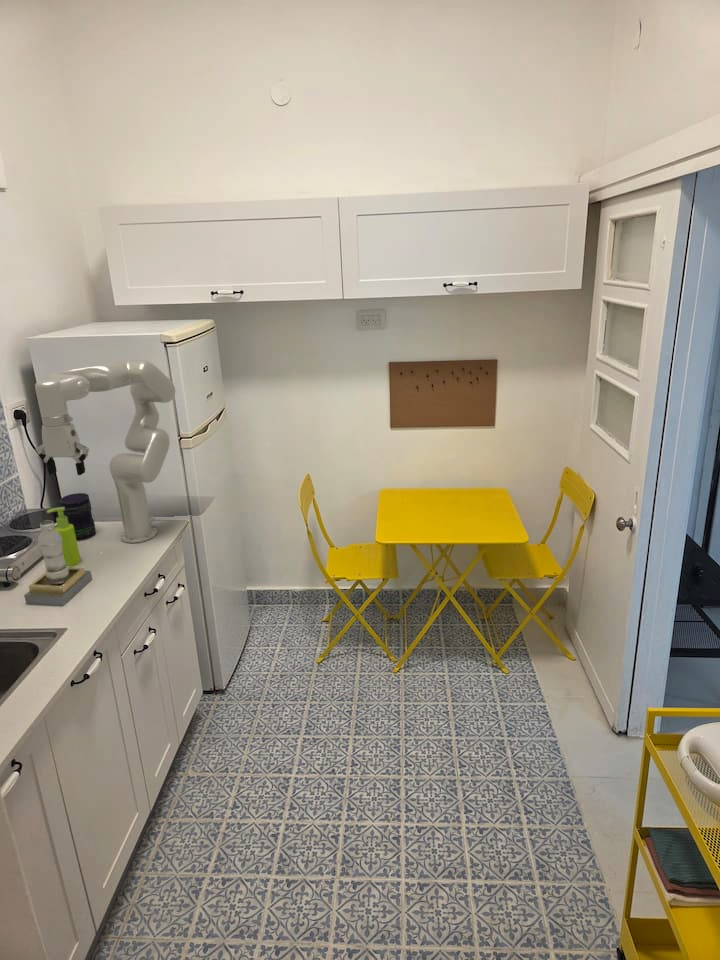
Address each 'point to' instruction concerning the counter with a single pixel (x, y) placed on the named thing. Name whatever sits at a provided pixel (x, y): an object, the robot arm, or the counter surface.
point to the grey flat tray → (57, 588)
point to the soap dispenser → (67, 537)
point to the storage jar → (79, 515)
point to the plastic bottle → (53, 554)
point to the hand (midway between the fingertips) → (67, 473)
